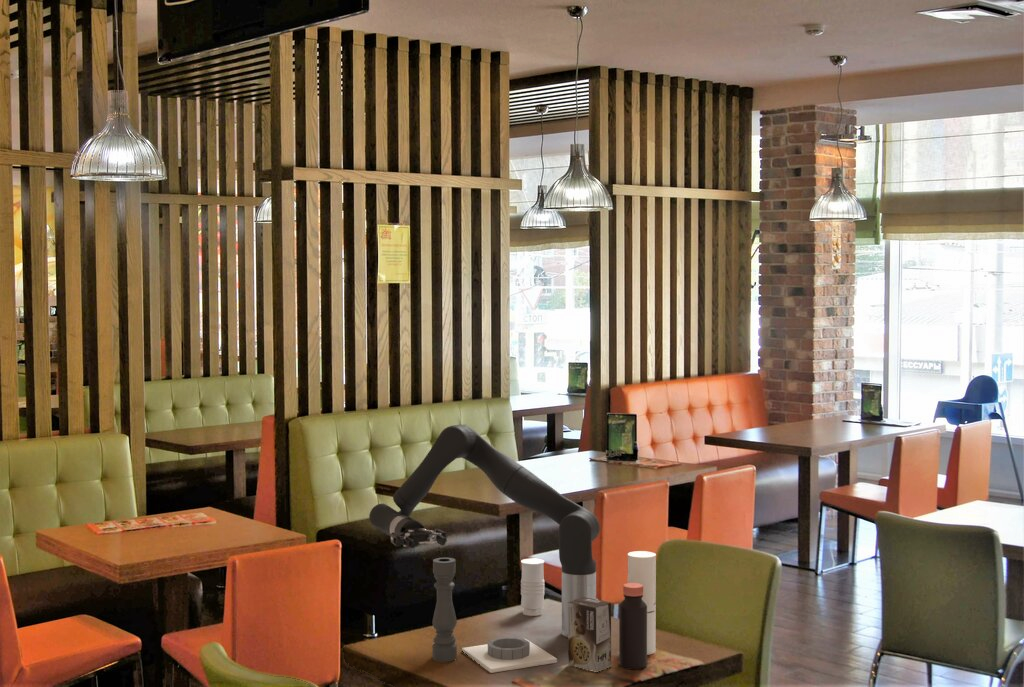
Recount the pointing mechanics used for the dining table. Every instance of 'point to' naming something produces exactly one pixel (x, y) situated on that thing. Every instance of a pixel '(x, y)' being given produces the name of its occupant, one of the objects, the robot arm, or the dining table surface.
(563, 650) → the dining table surface
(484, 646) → the collar plate
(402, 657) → the dining table surface
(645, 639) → the bottle
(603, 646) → the coffee box
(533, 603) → the candle
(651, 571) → the cylindrical container
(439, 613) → the candle holder
